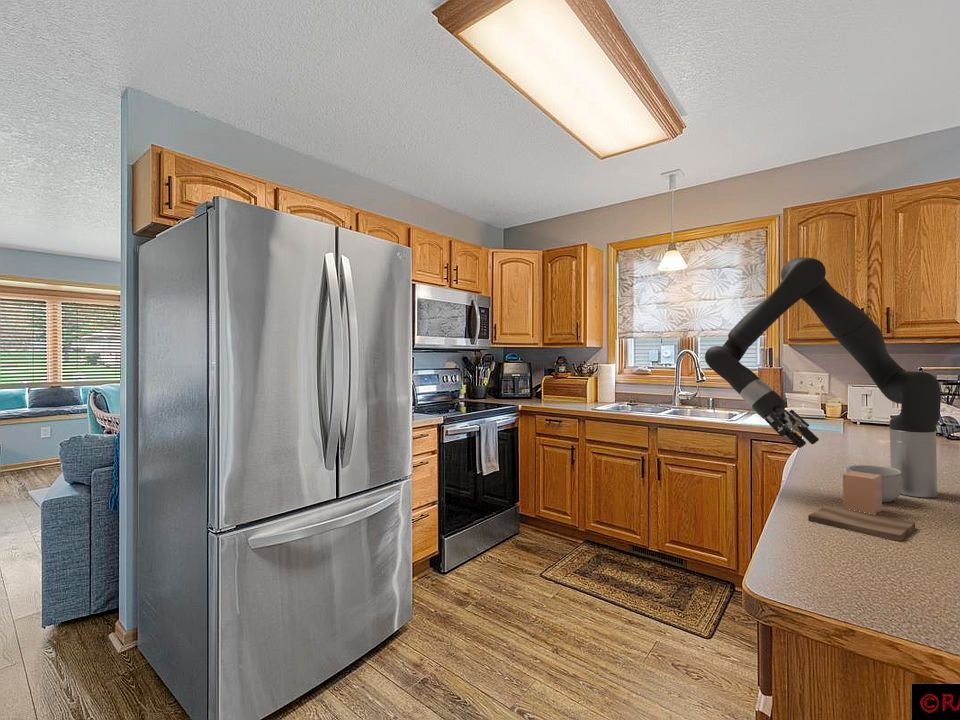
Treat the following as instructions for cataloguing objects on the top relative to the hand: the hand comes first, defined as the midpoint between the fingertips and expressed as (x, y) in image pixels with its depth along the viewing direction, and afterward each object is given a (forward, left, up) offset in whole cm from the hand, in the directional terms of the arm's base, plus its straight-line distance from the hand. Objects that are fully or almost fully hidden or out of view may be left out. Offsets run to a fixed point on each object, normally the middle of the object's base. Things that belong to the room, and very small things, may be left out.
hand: (809, 444), depth 123 cm
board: (+13, +14, -15) cm, 24 cm away
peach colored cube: (0, +11, -15) cm, 18 cm away
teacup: (-14, +9, -15) cm, 22 cm away
